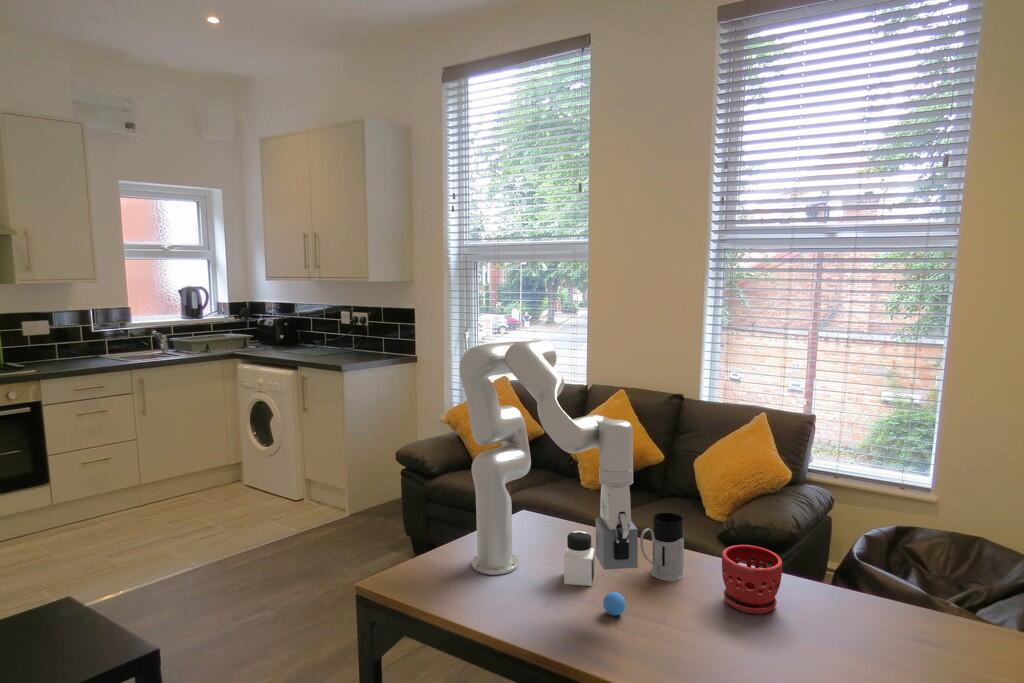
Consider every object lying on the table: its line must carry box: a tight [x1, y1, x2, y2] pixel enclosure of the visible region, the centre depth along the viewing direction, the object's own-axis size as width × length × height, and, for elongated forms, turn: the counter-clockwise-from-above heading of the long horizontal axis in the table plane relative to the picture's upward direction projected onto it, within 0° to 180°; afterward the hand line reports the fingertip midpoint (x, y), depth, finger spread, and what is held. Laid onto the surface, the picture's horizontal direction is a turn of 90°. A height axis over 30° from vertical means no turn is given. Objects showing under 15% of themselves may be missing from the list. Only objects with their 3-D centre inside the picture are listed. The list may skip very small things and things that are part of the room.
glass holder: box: [639, 512, 686, 582], centre depth 164 cm, size 9×14×15 cm, turn 124°
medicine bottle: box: [563, 530, 595, 587], centre depth 163 cm, size 7×7×12 cm
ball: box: [602, 591, 626, 617], centre depth 145 cm, size 5×5×5 cm
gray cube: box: [595, 517, 639, 570], centre depth 145 cm, size 8×8×9 cm
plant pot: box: [721, 544, 783, 615], centre depth 148 cm, size 13×13×12 cm
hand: (616, 551), depth 145 cm, fingers closed on gray cube, 7 cm apart
